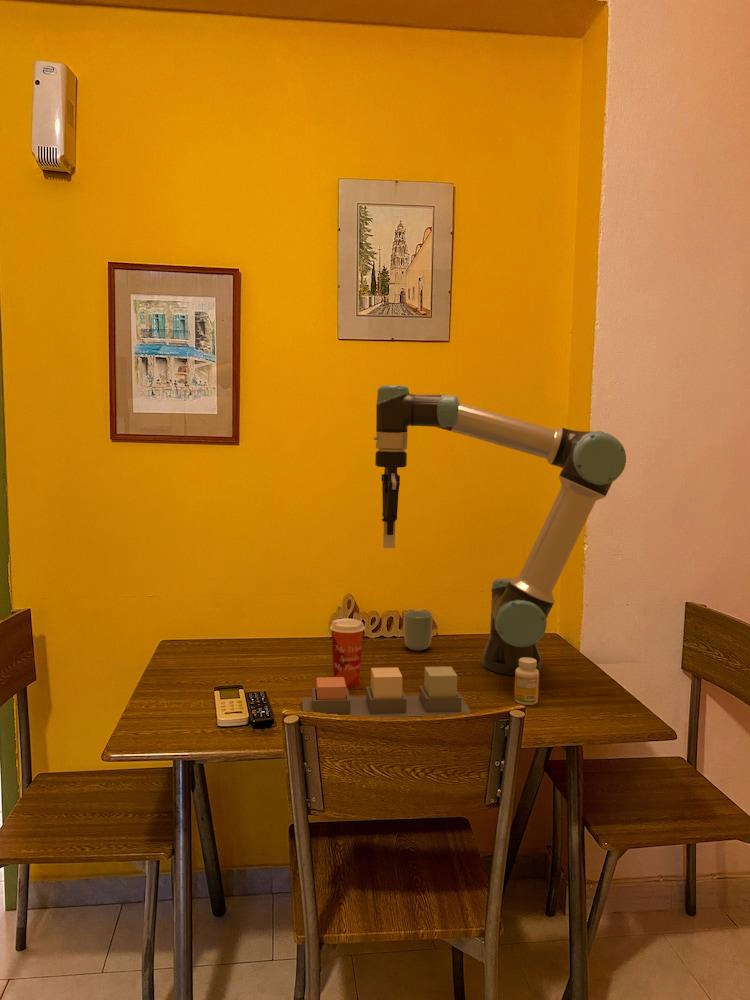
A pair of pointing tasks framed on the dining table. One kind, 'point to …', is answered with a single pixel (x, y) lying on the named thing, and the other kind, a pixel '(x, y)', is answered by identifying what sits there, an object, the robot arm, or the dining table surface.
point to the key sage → (440, 682)
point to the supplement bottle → (526, 682)
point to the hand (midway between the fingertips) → (388, 547)
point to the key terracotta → (330, 688)
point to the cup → (418, 629)
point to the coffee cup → (347, 649)
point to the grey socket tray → (388, 705)
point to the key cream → (386, 683)
